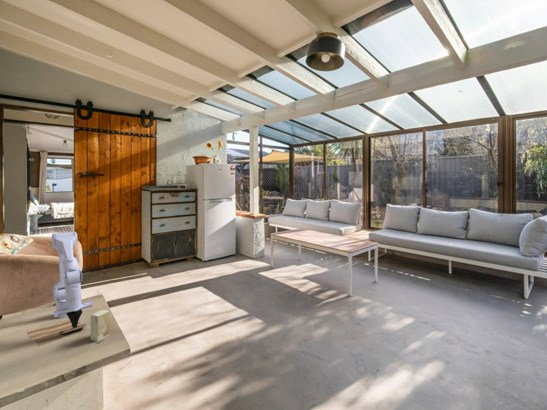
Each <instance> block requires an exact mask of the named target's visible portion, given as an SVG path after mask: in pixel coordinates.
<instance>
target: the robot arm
mask: <svg viewBox="0 0 547 410" xmlns="http://www.w3.org/2000/svg"><path fill="white" fill-rule="evenodd" d="M77 243H78V233H77V232H76V231H69V232H68V231H67V232H56V233H55V232H53V233H52V234H51V247H52V249H54V250H57V253H58V266H59V267H58V270H59V281H58V282H57V283H56V284H54V286H53V290H52V295H53V301H54V302H56V303H55V311H53V317H54V318H59V319H60V318H61V319H65V318H68V320H70V321H71V324H72V328H76V327H77V325H78V321H79V320H80V318H81V315H82V314H83V310H84V309H87V308H93V307H94V303H93V302H92V301H88V302H84V303H82V281H83V272H82V269H81V268H80V266H79V262H78V259H77V258H76V257H75V256H74V247H75V246H76V245H77ZM79 322H80V321H79Z"/></svg>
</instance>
